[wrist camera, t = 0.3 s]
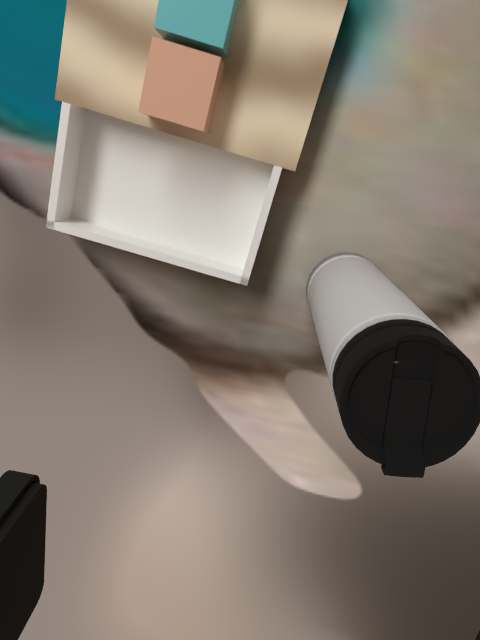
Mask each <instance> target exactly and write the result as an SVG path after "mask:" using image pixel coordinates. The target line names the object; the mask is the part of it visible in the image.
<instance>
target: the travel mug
mask: <svg viewBox="0 0 480 640" xmlns="http://www.w3.org/2000/svg"><path fill="white" fill-rule="evenodd" d="M306 295H307V299H308V303H309V307H310V311H311V314H312V318H313V322H314V325H315V329H316V333H317V336H318V340H319V344H320V348H321V351H322V355H323V359H324V362H325V366H326V370H327V373H328V377H329V381H330V384H331V388H332V392H333V395H334V397H335V400H336V402H337V406H338V409H339V413H340V416H341V420H342V424H343V426H344V429H345V431H346V433H347V435H348V437H349V439H350V440H351V441H352V443H353V444H354V445H355V446H356V448H357V449H358V450H360V451H361V452H362V453H363V454H364V455H365V456H367V457H369V458H370V459H372V460H374V461H375V462H378V463H380V464H382V465H381V468H382V471H383V473H384V475H390V476H399V477H420V478H422V477H423V476H424V471H425V467H427V466H432V465H435V464H438V463H440V462H443V461H445V460H446V459H448V458H449V457H451V456H453V455H455V454H456V453H457V452H458V451H459V450H460V449H462V448H463V447H464V446H465V445H466V444H467V442H468V441H469V440H470V439H471V437H472V436H473V435H474V433H475V431H476V429H477V427H478V425H479V423H480V376H479V374H478V371H477V369H476V368H475V367H474V365H473V364H472V362H471V361H470V360H469V359H468V358H467V357H466V356H465V355H464V354H463V353H462V352H461V351H460V350H459V349H458V348H457V347H456V346H455V345H454V344H453V343H452V341H451V340H450V338H449V337H448V336H447V335H446V334H445V333H444V332H443V331H442V330H441V329H440V328H439V327H437V326H436V325H435V324H434V323H433V322H432V321H431V320H430V319H429V318H428V317H427V316H426V315H425V314H424V313H423V312H422V311H421V310H420V309H419V308H418V307H417V306H416V305H415V304H414V303H413V302H412V301H411V300H410V299H409V298H408V297H407V296H405V295H404V294H403V293H402V292H401V291H400V290H399V289H398V288H397V287H396V286H395V285H394V284H393V283H392V282H391V281H390V280H389V279H388V278H387V277H386V276H385V275H384V274H383V273H382V272H381V271H380V270H379V269H378V268H377V267H376V266H374V265H373V264H372V263H371V262H370V261H369V260H368V259H366V258H365V257H363V256H360V255H358V254H354V253H339V254H335V255H332V256H330V257H327V258H325V259H324V260H323V261H321V262H320V263H319V264H318V265H317V266H316V267H315V268H314V269H313V271H312V273H311V274H310V276H309V279H308V282H307V287H306Z"/></svg>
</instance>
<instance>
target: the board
mask: <svg viewBox="0 0 480 640" xmlns="http://www.w3.org/2000/svg"><path fill="white" fill-rule="evenodd" d="M158 2H159V0H67V6H66V14H65V22H64V30H63V38H62V46H61V54H60V62H59V70H58V78H57V86H56V94H55V100H59V101H62V102H65V103H69V104H72V105H75V106H79V107H82V108H85V109H88V110H92V111H95V112H98V113H102V114H105V115H108V116H112V117H115V118H118V119H122V120H125V121H128V122H132V123H135V124H138V125H142V126H145V127H148V128H152V129H155V130H158V131H162V132H165V133H168V134H171V135H175V136H178V137H181V138H185V139H188V140H191V141H195V142H198V143H201V144H205V145H208V146H211V147H215V148H218V149H221V150H225V151H228V152H231V153H235V154H238V155H241V156H245V157H248V158H251V159H255V160H258V161H261V162H265V163H268V164H271V165H275V166H278V167H281V168H284V169H288V170H291V171H295V170H296V167H297V164H298V161H299V157H300V154H301V151H302V148H303V144H304V141H305V138H306V135H307V131H308V128H309V125H310V122H311V118H312V115H313V112H314V109H315V105H316V102H317V99H318V96H319V92H320V89H321V86H322V83H323V80H324V76H325V73H326V70H327V67H328V63H329V60H330V57H331V54H332V50H333V47H334V44H335V41H336V37H337V34H338V31H339V28H340V24H341V21H342V18H343V15H344V11H345V8H346V5H347V2H348V0H240V4H239V8H238V12H237V16H236V21H235V25H234V29H233V33H232V37H231V42H230V46H229V50H228V54H227V57H223V56H220V55H217V54H214V53H210V52H207V51H204V50H201V49H197V48H194V47H191V46H187V45H184V44H181V43H178V42H174V41H171V40H168V39H165V38H163V37H162V36H161V35H160V34H159V33H158V32H157V30H156V29H155V28H154V23H155V18H156V13H157V7H158ZM152 36H153V37H157V38H160V39H163V40H166V41H170V42H173V43H176V44H179V45H183V46H186V47H189V48H192V49H196V50H199V51H202V52H206V53H209V54H212V55H215V56H219V57H221V58H222V61H223V63H224V65H225V67H224V71H223V75H222V79H221V84H220V88H219V92H218V96H217V100H216V105H215V109H214V113H213V117H212V121H211V126H210V130H209V134H207V133H203V132H200V131H197V130H193V129H190V128H187V127H184V126H180V125H177V124H174V123H170V122H167V121H164V120H160V119H157V118H154V117H150V116H147V115H145V114H142V113H140V112H138V110H139V105H140V99H141V94H142V88H143V83H144V77H145V72H146V67H147V61H148V56H149V50H150V45H151V40H152Z"/></svg>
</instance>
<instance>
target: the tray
mask: <svg viewBox="0 0 480 640" xmlns="http://www.w3.org/2000/svg"><path fill="white" fill-rule="evenodd" d="M281 170H282V168H281V167H278V166H275V165H271V164H268V163H265V162H261V161H258V160H255V159H251V158H248V157H245V156H241V155H238V154H235V153H231V152H228V151H225V150H221V149H218V148H215V147H211V146H208V145H205V144H201V143H198V142H195V141H191V140H188V139H185V138H181V137H178V136H175V135H171V134H168V133H165V132H162V131H158V130H155V129H152V128H148V127H145V126H142V125H138V124H135V123H132V122H128V121H125V120H122V119H118V118H115V117H112V116H108V115H105V114H102V113H98V112H95V111H92V110H88V109H85V108H82V107H79V106H75V105H72V104H69V103H65V102H62V107H61V115H60V122H59V130H58V138H57V145H56V153H55V161H54V168H53V176H52V184H51V191H50V199H49V207H48V214H47V222H46V227H47V228H50V229H54V230H57V231H60V232H64V233H67V234H71V235H74V236H77V237H81V238H84V239H88V240H91V241H95V242H98V243H101V244H105V245H108V246H112V247H115V248H119V249H122V250H125V251H129V252H132V253H136V254H139V255H143V256H146V257H149V258H153V259H156V260H160V261H163V262H167V263H170V264H173V265H177V266H180V267H184V268H187V269H191V270H194V271H197V272H201V273H204V274H208V275H211V276H214V277H218V278H221V279H225V280H228V281H232V282H235V283H238V284H242V285H245V286H247V284H248V281H249V278H250V274H251V271H252V268H253V264H254V261H255V258H256V254H257V251H258V247H259V244H260V241H261V237H262V234H263V231H264V227H265V224H266V221H267V217H268V214H269V211H270V207H271V204H272V201H273V197H274V194H275V190H276V187H277V184H278V180H279V177H280V174H281Z"/></svg>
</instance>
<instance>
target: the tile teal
mask: <svg viewBox="0 0 480 640" xmlns="http://www.w3.org/2000/svg"><path fill="white" fill-rule="evenodd" d="M239 4H240V0H159V2H158V7H157V13H156V18H155V23H154V28H155V29H156V30H157V32H158V33H159V34H160V35H161V36H162V37H163V38H165V39H168V40H171V41H174V42H178V43H181V44H184V45H187V46H191V47H194V48H197V49H201V50H204V51H207V52H210V53H214V54H217V55H220V56H223V57H227V54H228V50H229V46H230V42H231V37H232V33H233V29H234V25H235V21H236V16H237V12H238V8H239Z"/></svg>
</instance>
